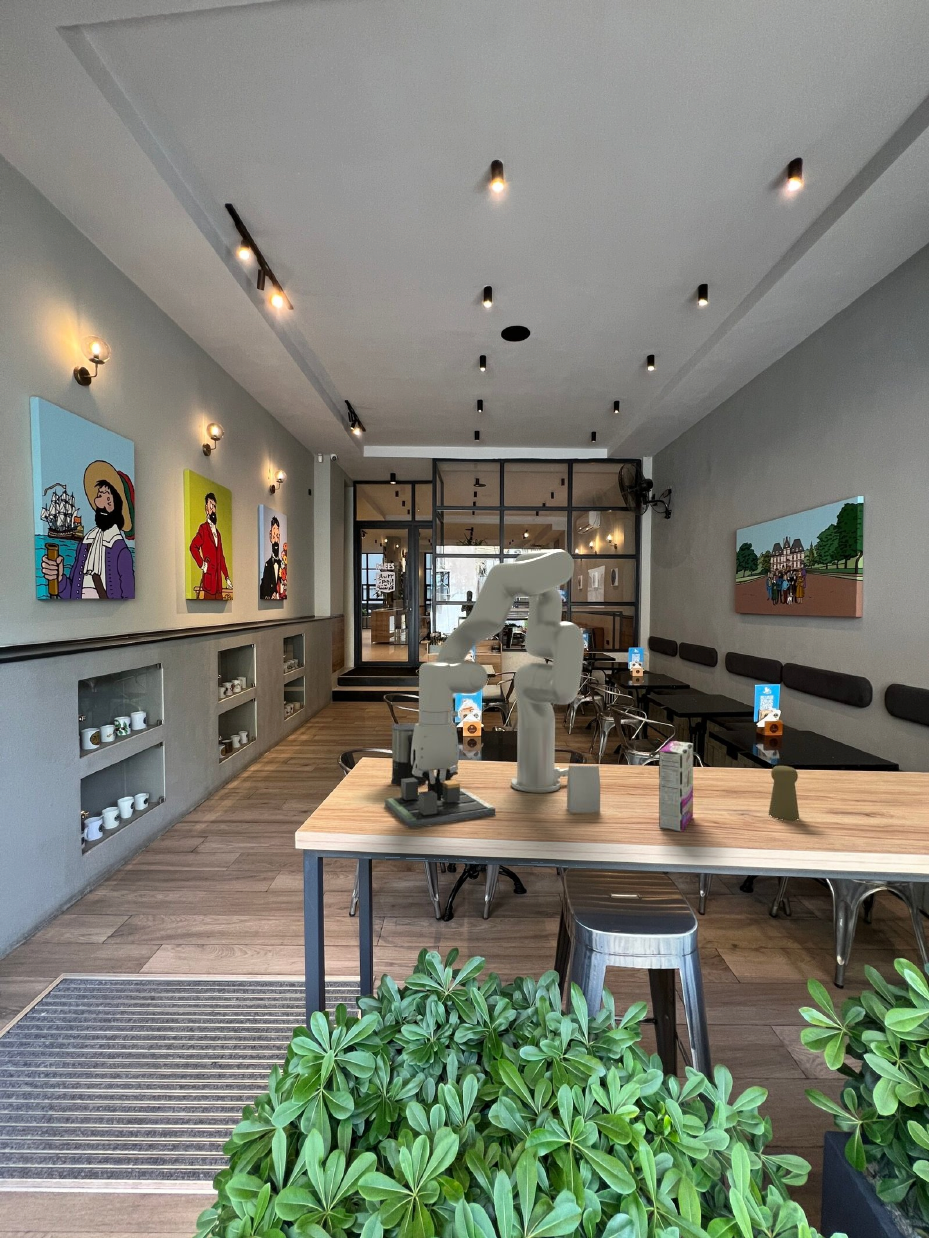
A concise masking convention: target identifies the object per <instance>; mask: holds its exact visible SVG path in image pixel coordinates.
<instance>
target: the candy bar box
mask: <svg viewBox="0 0 929 1238" xmlns="http://www.w3.org/2000/svg"><path fill="white" fill-rule="evenodd" d="M658 785H659V786H658V791H659V792H658V794H659V796H658V799H659V801H658V802H659V803H658V814H659V815H658V819H659V820H658V824H659V825H658V828H660V829H663V830H669V831H674V832H679V833H682V832H683V831H684V830H685V829H686V827H687V826H688V824H689V822H690V821H691V820H692V819H693V817H694V743H691V742H686V741H677V740H671V741H670V742H669V743H667V744H666V745H665V746H663V747H662V748H661V749H659V751H658Z"/></svg>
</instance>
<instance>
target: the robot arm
mask: <svg viewBox="0 0 929 1238" xmlns="http://www.w3.org/2000/svg"><path fill="white" fill-rule="evenodd" d="M574 570H575V561H574V559H573V557H572V555H571V554H570V553H569V552H567V551H566V550H563V549H549V550H537V551H536V550H535V551H528V552H525V553H524V552H523V553H522V554H519V555H518V556H517V557H516V558H515V560H514V561H511V562H503V563H501V562H500V563H497V564H496V565H493V566H492V567H491V569H489V572H488V574H487V576H486V578H485V580H484V582H483V585H482V587H481V589H480V592H479V593H478V596H477V598H476V600H475V602H474V605H473V607H472V609H471V611H470V613H469V615H468V617H466V618H465V619H464V620H463V621H462V622H461V623H459V625H458V626H456V628H455V629H454V630H453V631H451V633H450V634H449V635H448V637H447V638H446V640H444V643H443V644H442V646H441V648H440V650H439V651H438V654H437V657H436V660H435V661H431V662H429V661H427V662H424V663H421V665H420V666H419V672H418V682H419V683H418V722H417V723H414V724H415V727H414V732H413V739H412V748H411V764H412V766H413V770H412V774H413V775H415V776H420V777H424V778H425V779H426V780H427V781H426V782H427V791H433V792H435V793H436V794H437V800H438V801H441V796H442V795H443V782H444V781H446V780H445V778H446V777H447V776H448V775H449V774H450V773H453V772H455V771H457V772H458V771H459V766H458V764H459V760H460V759H459V756H460V755H459V753H460V752H459V740H458V732H457V727H456V723H455V722H453V721H454V718H458V716H459V714H458V711H457V710H456V711H455V710H454V709H453V706H454V705H453V704H454V701H453V699H454V698H453V697H454V694H464V695H471V694H473V695H474V694H476V693H479V692H480V691H481V690H483V689H484V688H485V686H486V685H487V682H488V672H487V670H486V669H485V667H484V666H483V665H482V664H481V663H478V662H476V661H473V660H465V659H466V657H467V656H468V654H469V653H470V651H472V649H474V647H475V646H477V645H478V644H480V643H481V642H483V641H485V640H488V639H490V638H491V637H493V636H495V635H497V634H498V633H500V632H502V630H503V628H504V627H505V624H506V622H507V620H508V617H509V614H510V612H511V610H512V607H513V605H514V604H515V600H516V599H517V598H528V605H529V606H528V616H527V623H526V630H525V637H524V638H525V641H524V643H525V644H524V645H525V650H526V652H527V653H528V654H529V655H530V656H532V657H536V658H540V659H547V660H548V659H549V660H550V659H551V660H552V664H551V663H541V662H528V663H525V664H523V665H521V666H520V667H518V669H517V670H516V671H515V674H514V678H513V687H514V691H515V692H514V693H515V697H516V698H515V699H516V705H517V707H516V708H517V740H516V741H517V743H516V744H517V749H516V751H517V752H516V753H517V756H516V757H517V761H516V762H517V763H516V768H517V769H516V776H515V777H513V778H512V779H511V780H510V786H511V787H512V788H513V789H515V790H517V791H520V792H525V793H534V794H537V793H538V794H539V793H540V794H541V793H542V794H543V793H545V794H546V793H553V792H556V791H558V790H559V789H560V788H561V782H560V780H559V779H560V778H561V777H563V778H564V777H568V770H569V768H562V769H561V768H560V767H556V766H555V755H556V754H555V751H556V750H555V749H556V748H555V746H556V745H555V744H556V743H555V742H556V741H555V740H556V737H555V736H556V734H555V733H556V729H555V728H556V716H555V711H554V708H553V706H552V704H553V705H554V704H556V705H569V704H571V703H573V702H574V700H575V699H576V697H578V693H579V690H580V685H581V678H582V671H583V662H584V654H585V638H584V634H583V631H582V630H581V628H580V627H579V626H578V625H577V624H576V623H573V622H569V621H562V616H563V615H562V613H563V602H562V601H563V600H562V597H561V593H560V592H559V590H558V588H557V587H560V586H563V585H564V584H565V583H567V582H568V581H569V580H571V578H572V576H573V574H574Z"/></svg>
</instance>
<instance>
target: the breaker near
mask: <svg viewBox="0 0 929 1238" xmlns="http://www.w3.org/2000/svg"><path fill="white" fill-rule="evenodd" d="M418 795H419V812H421V813H422V814H423V815H429V814H436V813H437V794H436V793H435V792H433V791H428V790H426V791H418Z"/></svg>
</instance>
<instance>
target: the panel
mask: <svg viewBox="0 0 929 1238" xmlns="http://www.w3.org/2000/svg"><path fill="white" fill-rule="evenodd" d="M384 803H385V804H384V806H385V807H386V808H387V809H388V810H389V811H390V810H391V811H392V812H393V813H394V814H395V815H394V814H393V815H394V816H395V817H396V818H397V819H399V820H400V821H401V822H402V823H403V824H404V825H405V826H406V825H407V826H408V827H409V828H408V827H407V826H406V827H407V828H408V829H410V828H412V829H417V827H418V828H423V827H422V826H424V827H430V826H429V825H431V826H437V825H442V824H443V825H444V824H448V823H447V822H450V823H454V822H455V821H456V822H460V821H467V820H466V819H468V820H475V819H479V818H486V817H491V816H493V817H494V816H496V808H495V807H494V806H493V805H492V804H490V803H488V802H486V801H484V799H482V798H480V797H478V796H477V795H475V794H473V793H471V792H470V791H468V790H467V789H465V788H460V801H456V802H449V803H447V802H446V801H445V800H443V799H442V796H441V801H438V800H437V813H436V814H429V815H423V814H422V813H421V812H419V794H418V799H411V800H405V799H404V798H402V797H401V796H399V797H391V798H386V799H385V800H384ZM391 811H390V812H391ZM392 812H391V813H392ZM456 822H455V823H456Z"/></svg>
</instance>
